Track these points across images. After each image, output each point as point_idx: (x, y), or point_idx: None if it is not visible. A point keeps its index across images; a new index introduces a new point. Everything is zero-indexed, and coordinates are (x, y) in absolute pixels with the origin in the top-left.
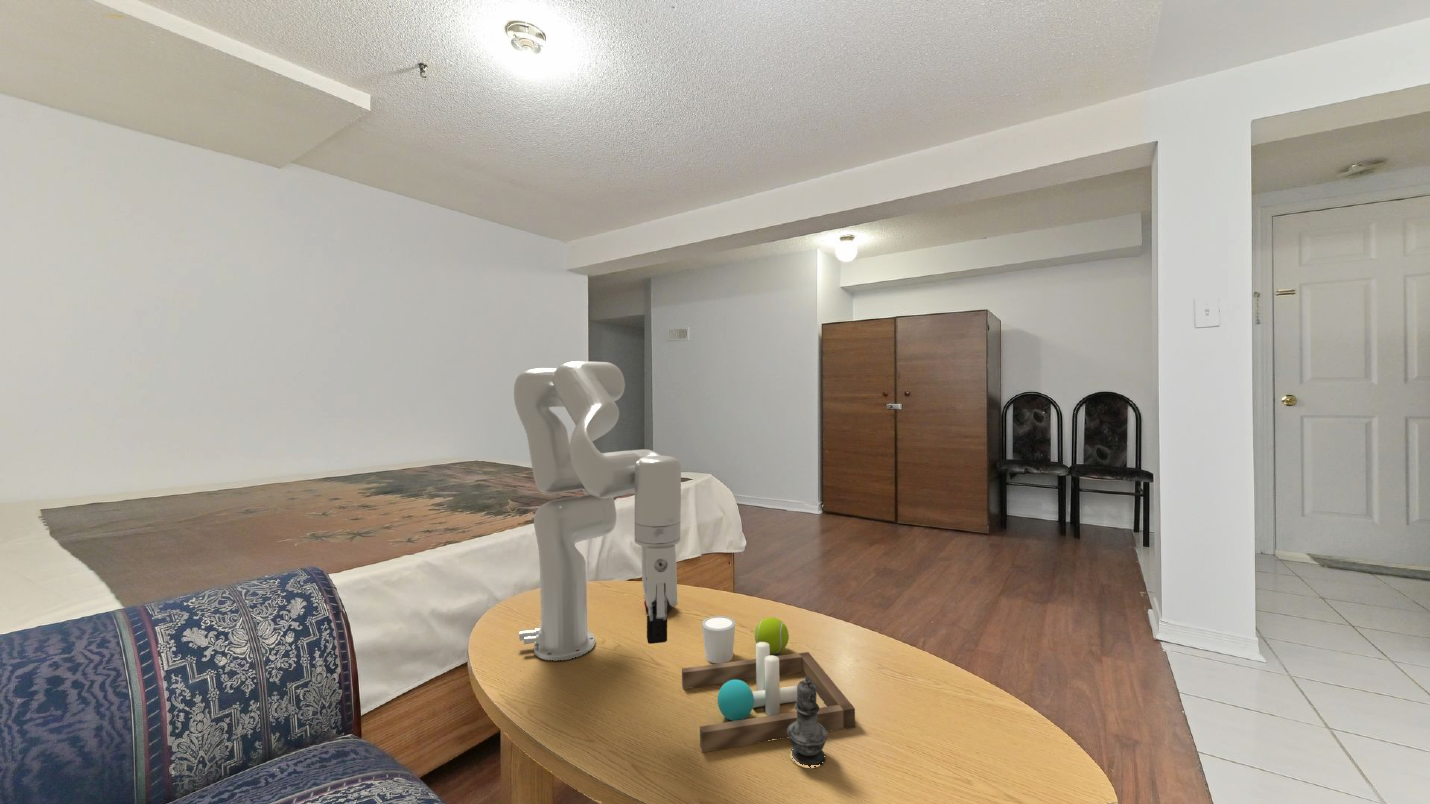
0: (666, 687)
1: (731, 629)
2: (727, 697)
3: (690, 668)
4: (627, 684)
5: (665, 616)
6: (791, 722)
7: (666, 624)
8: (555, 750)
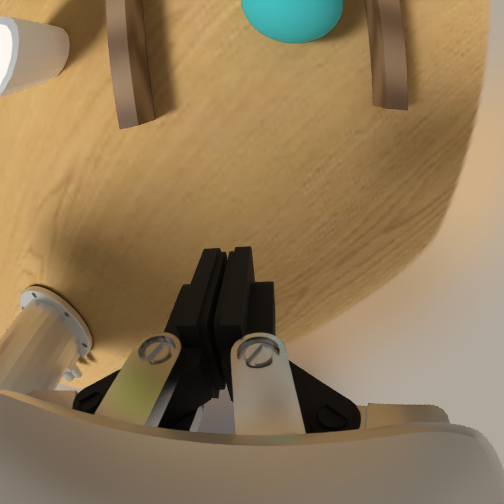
0: (146, 157)
1: (16, 20)
2: (328, 19)
3: (121, 106)
4: (136, 236)
5: (288, 364)
6: None
7: (243, 301)
8: (312, 330)
